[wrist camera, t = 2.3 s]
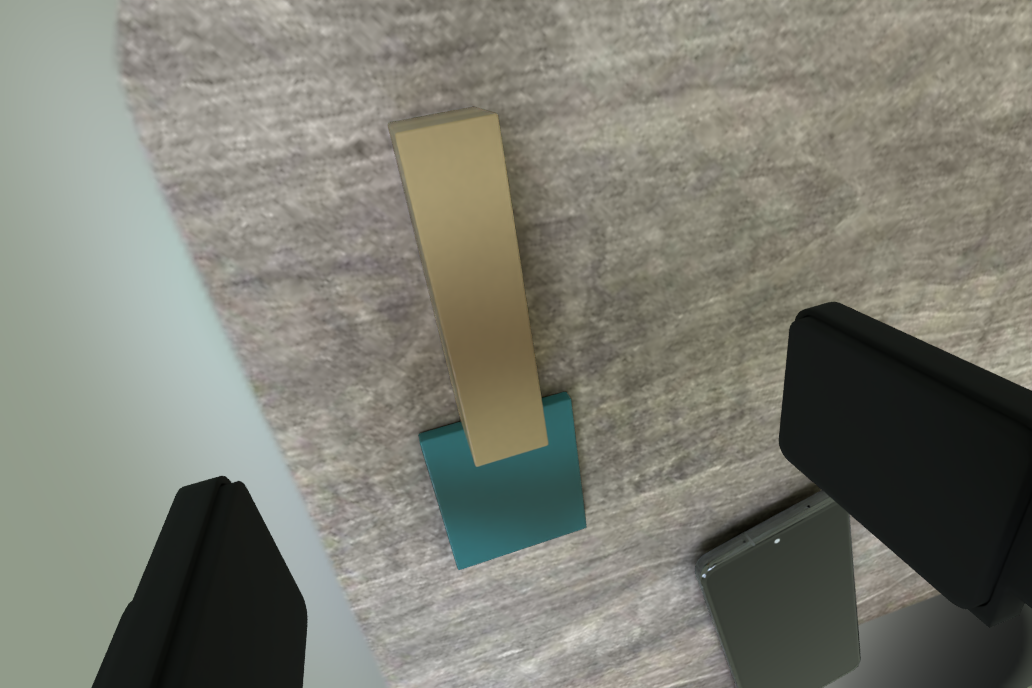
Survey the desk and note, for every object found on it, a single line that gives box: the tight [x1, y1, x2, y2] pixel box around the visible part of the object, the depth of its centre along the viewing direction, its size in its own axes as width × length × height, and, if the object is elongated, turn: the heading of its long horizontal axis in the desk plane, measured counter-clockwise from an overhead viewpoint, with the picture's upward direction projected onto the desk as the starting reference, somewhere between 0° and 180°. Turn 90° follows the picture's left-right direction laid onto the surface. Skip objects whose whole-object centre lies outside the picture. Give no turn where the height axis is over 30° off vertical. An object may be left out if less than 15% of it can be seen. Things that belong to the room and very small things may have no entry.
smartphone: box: [695, 490, 861, 688], centre depth 27 cm, size 7×1×16 cm
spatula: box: [388, 107, 586, 570], centre depth 16 cm, size 15×5×2 cm, turn 9°
